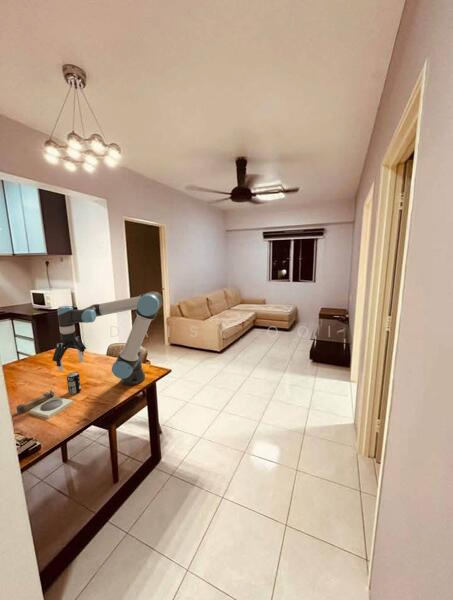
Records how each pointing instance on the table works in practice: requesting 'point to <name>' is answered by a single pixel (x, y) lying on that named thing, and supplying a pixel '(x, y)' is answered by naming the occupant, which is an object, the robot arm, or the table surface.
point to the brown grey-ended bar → (33, 403)
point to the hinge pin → (52, 393)
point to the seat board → (51, 407)
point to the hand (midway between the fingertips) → (71, 366)
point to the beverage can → (73, 383)
